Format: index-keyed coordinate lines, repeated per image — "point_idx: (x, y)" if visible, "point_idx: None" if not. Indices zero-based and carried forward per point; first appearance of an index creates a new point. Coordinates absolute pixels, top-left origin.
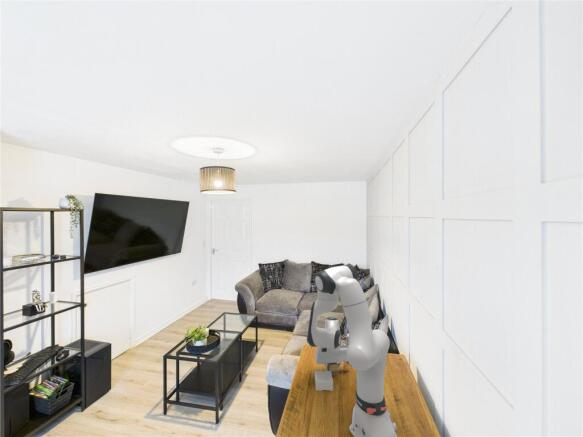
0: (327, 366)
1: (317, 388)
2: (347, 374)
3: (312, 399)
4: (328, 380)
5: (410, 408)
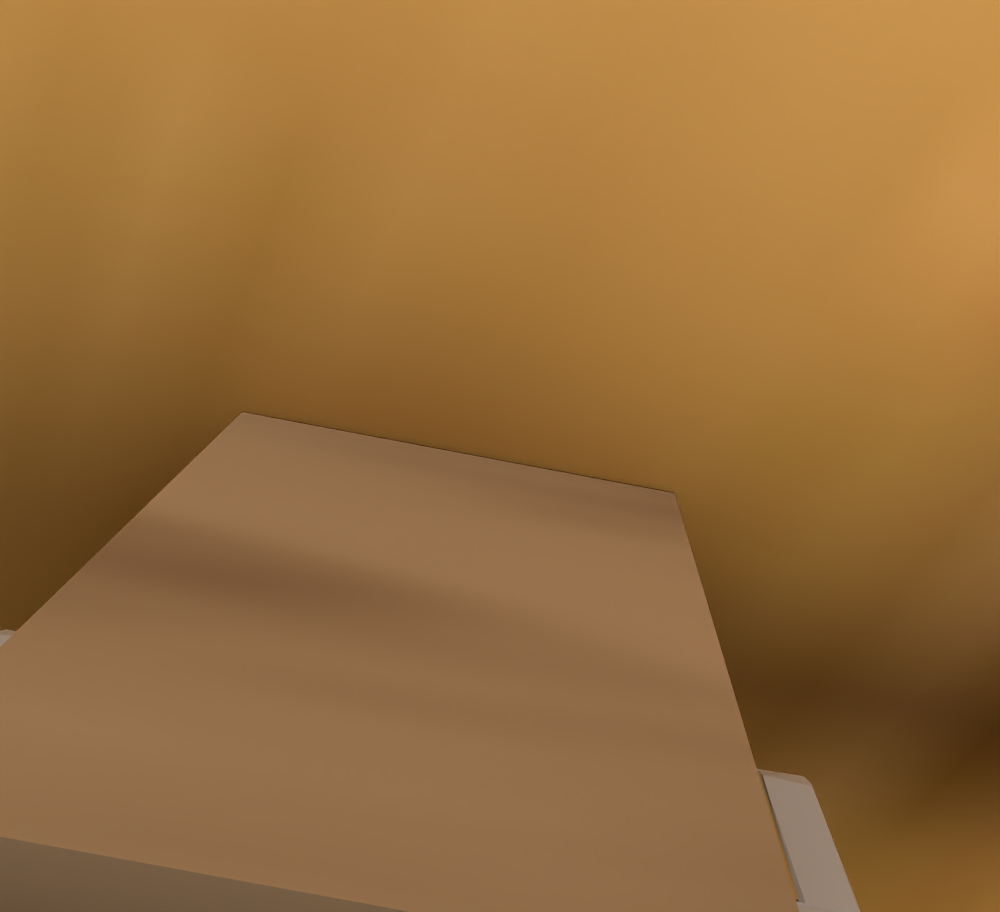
0: None
1: None
2: (976, 900)
3: None
4: None
5: None
